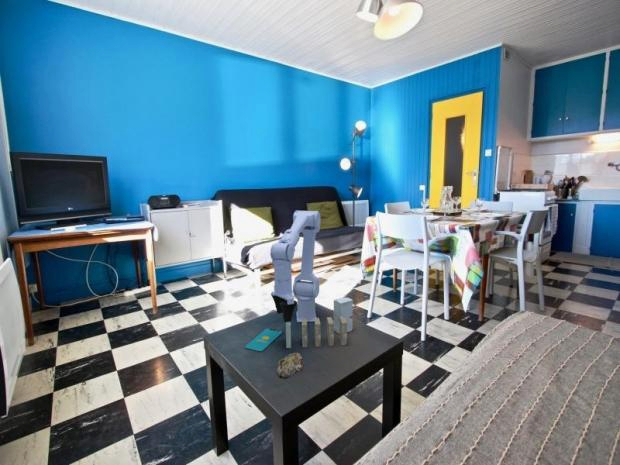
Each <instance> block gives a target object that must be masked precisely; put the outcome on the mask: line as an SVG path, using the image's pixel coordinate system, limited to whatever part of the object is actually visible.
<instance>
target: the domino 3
mask: <svg viewBox="0 0 620 465" xmlns="http://www.w3.org/2000/svg"><path fill="white" fill-rule="evenodd" d="M313 323H314V324H313V325H314V329H313V330H314V336H313V337H314V343H315V344H314V345H315V347H321V341H322V340H321V334H322V333H321V321H320V318H319V317H316V318H314V321H313Z"/></svg>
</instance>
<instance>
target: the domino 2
mask: <svg viewBox="0 0 620 465" xmlns="http://www.w3.org/2000/svg"><path fill="white" fill-rule="evenodd" d="M301 344H302V346H301V347H302V348H308V322H307V321H306V318H302V322H301Z"/></svg>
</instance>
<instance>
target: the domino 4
mask: <svg viewBox="0 0 620 465" xmlns="http://www.w3.org/2000/svg"><path fill="white" fill-rule="evenodd" d="M334 332H335V331H334V319H333V318H332V317H331V316H329V317H326V340H327V344H328V346H329V347H332V346H334V344H335V343H334V342H335V340H334V339H335V338H334V337H335V336H334V334H335V333H334Z"/></svg>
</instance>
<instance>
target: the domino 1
mask: <svg viewBox="0 0 620 465" xmlns="http://www.w3.org/2000/svg"><path fill="white" fill-rule="evenodd" d="M291 322H292V321H291ZM291 322H285V342H286V343H285V346H286V349H291V348H292V331H291V329H292V328H291V325H292V324H291Z"/></svg>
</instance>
